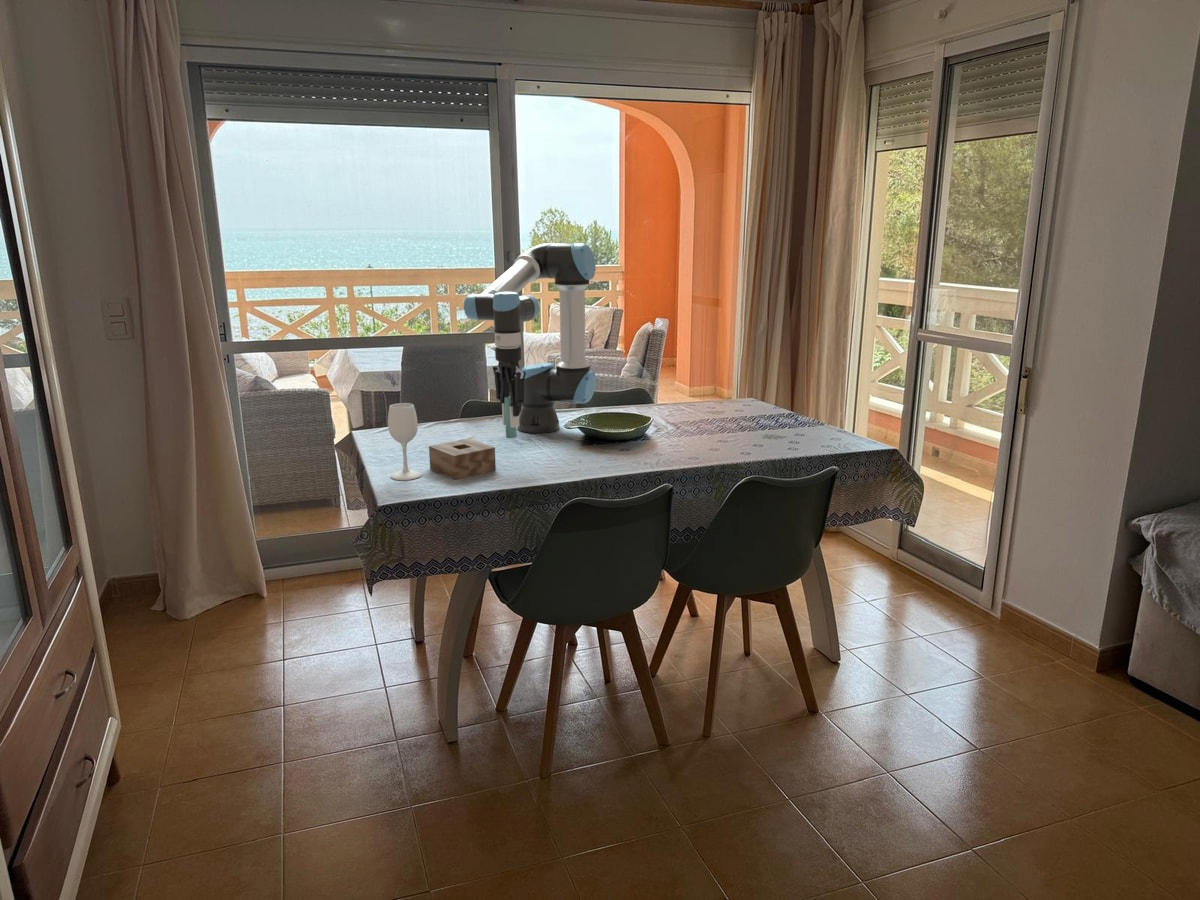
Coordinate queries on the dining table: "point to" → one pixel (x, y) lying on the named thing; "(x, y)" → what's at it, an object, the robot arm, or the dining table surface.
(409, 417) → the wineglass
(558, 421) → the robot arm
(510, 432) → the dowel
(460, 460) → the socket block
